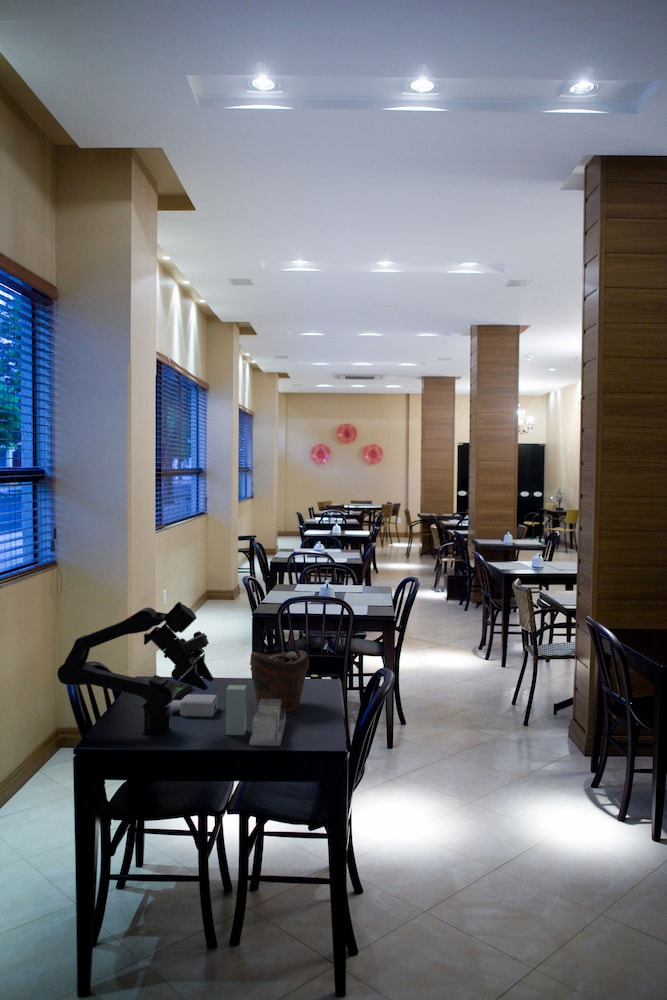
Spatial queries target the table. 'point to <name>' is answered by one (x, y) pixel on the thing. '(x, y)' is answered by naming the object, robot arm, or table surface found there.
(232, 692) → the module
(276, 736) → the rail
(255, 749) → the table surface
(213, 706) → the charger
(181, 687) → the disk drive
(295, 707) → the brown flower pot
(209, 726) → the table surface
